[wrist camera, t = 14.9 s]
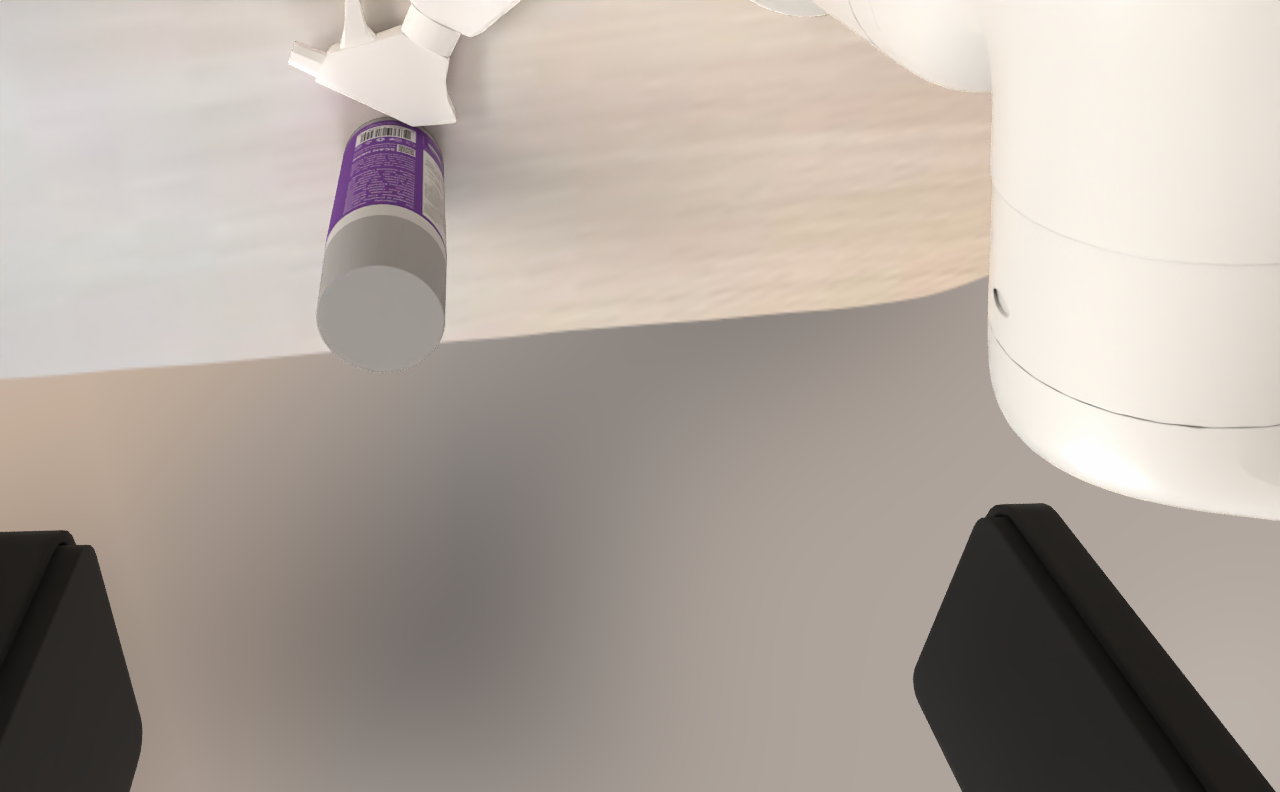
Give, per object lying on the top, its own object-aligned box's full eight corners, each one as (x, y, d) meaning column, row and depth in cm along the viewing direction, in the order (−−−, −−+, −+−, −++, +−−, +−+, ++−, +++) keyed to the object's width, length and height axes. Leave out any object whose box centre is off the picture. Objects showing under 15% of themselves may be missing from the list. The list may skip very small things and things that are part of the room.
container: (326, 178, 46) (288, 341, 34) (372, 96, 44) (351, 238, 32) (413, 226, 48) (408, 394, 36) (461, 149, 46) (473, 300, 34)
